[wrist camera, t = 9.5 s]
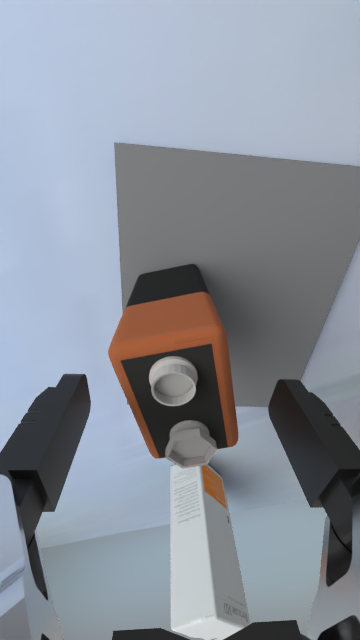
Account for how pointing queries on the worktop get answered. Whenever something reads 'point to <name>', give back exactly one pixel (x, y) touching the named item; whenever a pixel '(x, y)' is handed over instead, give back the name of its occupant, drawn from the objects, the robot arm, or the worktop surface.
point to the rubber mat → (243, 246)
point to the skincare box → (203, 557)
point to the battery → (176, 367)
